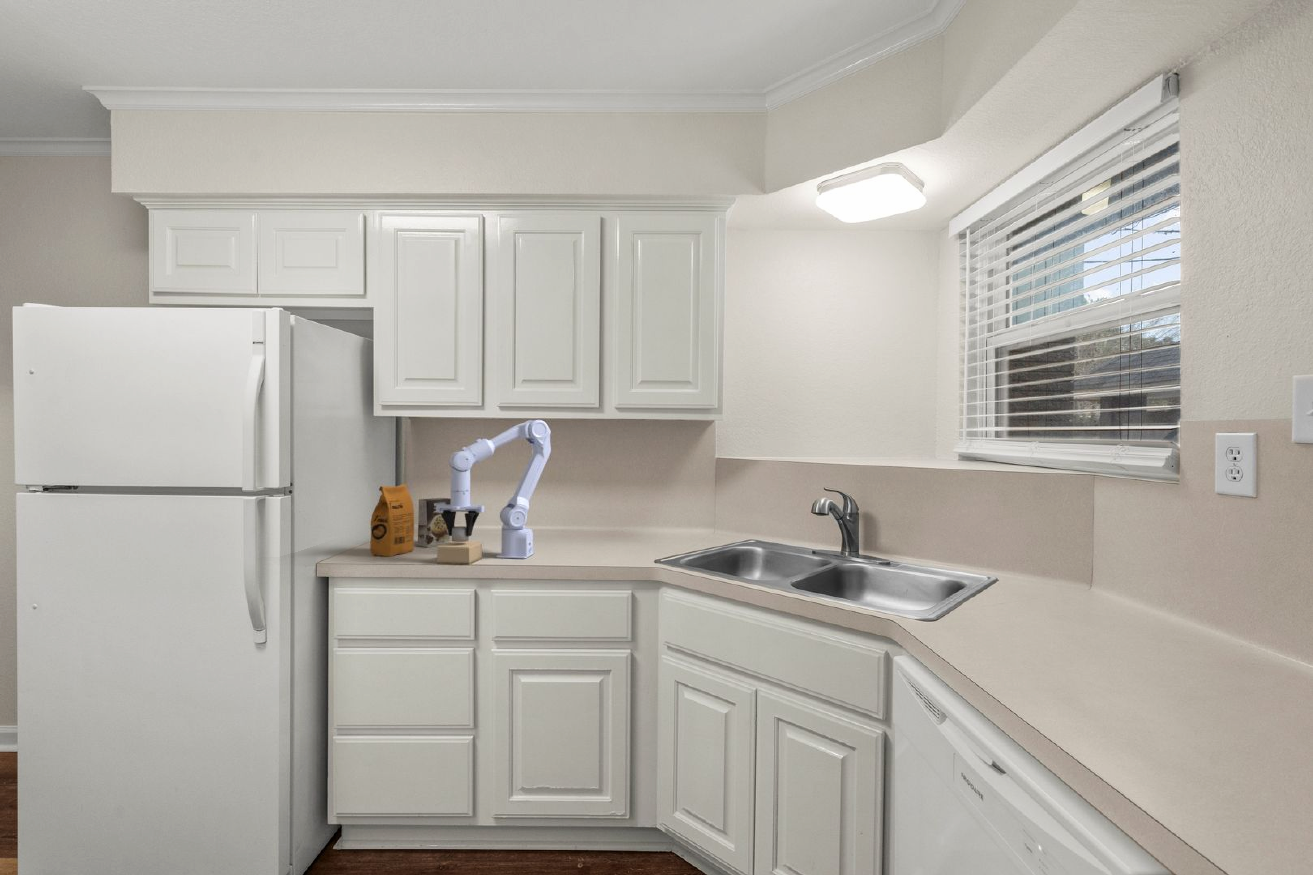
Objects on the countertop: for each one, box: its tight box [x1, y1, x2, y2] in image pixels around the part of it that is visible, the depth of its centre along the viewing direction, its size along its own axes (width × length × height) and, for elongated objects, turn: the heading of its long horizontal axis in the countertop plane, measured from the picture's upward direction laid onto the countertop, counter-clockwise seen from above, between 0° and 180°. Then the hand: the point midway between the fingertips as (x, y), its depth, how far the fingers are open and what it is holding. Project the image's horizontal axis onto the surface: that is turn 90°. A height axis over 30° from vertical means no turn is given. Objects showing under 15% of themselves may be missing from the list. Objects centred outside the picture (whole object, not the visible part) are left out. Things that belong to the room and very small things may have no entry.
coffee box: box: [417, 497, 451, 548], centre depth 209 cm, size 9×6×16 cm
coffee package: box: [369, 483, 415, 558], centre depth 194 cm, size 10×12×22 cm
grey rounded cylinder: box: [450, 525, 470, 542], centre depth 183 cm, size 5×5×4 cm
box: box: [436, 543, 483, 566], centre depth 183 cm, size 10×9×4 cm
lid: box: [436, 540, 483, 550], centre depth 183 cm, size 10×9×1 cm
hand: (460, 535), depth 183 cm, fingers closed on grey rounded cylinder, 5 cm apart
